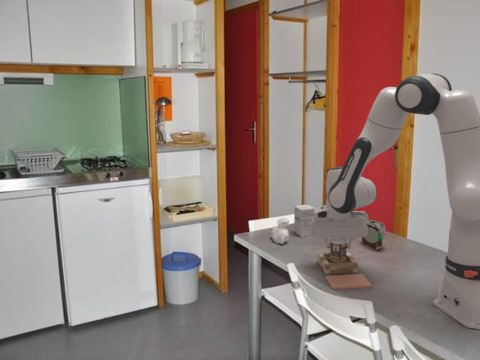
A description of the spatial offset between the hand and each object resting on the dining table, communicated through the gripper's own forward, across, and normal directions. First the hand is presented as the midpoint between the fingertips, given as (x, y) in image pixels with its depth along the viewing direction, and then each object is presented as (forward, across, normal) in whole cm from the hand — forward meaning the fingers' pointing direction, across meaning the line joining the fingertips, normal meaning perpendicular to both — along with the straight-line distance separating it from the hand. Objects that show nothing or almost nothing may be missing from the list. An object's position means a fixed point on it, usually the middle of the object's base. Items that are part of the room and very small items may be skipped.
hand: (338, 247), depth 171 cm
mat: (+7, -2, +14) cm, 16 cm away
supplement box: (+7, +12, -37) cm, 40 cm away
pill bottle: (+5, 0, 0) cm, 5 cm away
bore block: (+7, 0, 0) cm, 7 cm away
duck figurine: (+7, +22, -27) cm, 36 cm away
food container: (+8, -16, -22) cm, 29 cm away
